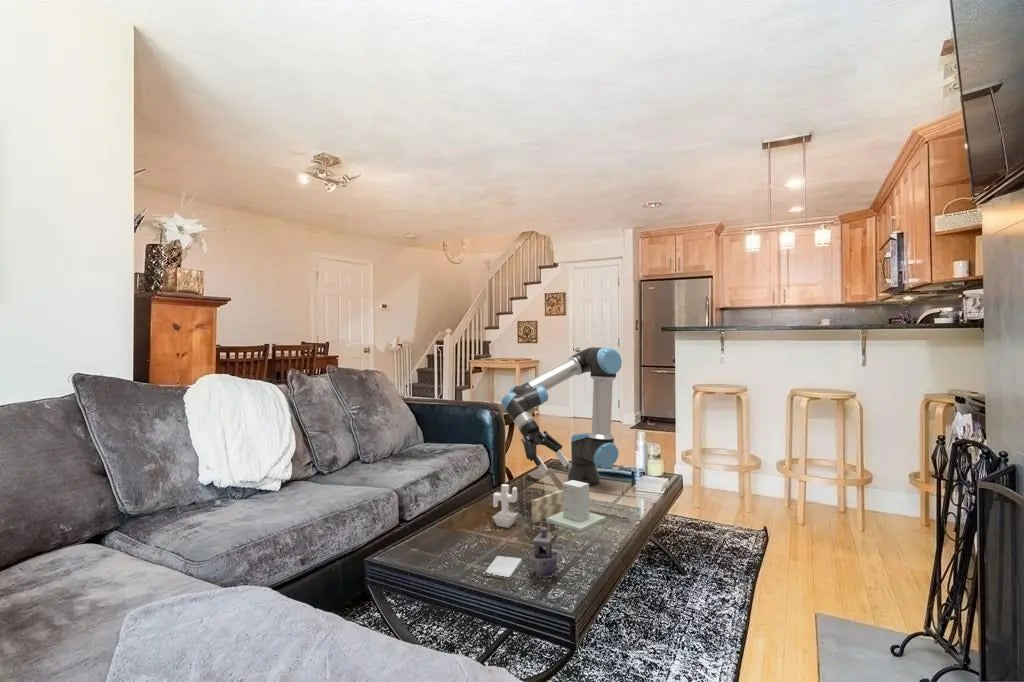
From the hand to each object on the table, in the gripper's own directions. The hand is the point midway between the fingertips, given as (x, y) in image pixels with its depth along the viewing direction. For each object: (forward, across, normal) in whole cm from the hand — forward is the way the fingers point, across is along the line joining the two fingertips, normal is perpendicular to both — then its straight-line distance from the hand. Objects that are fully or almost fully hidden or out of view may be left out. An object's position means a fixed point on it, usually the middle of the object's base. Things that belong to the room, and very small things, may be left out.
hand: (556, 468), depth 198 cm
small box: (+19, 0, -6) cm, 20 cm away
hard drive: (+25, +48, -2) cm, 54 cm away
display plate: (+20, 0, -6) cm, 21 cm away
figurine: (+7, +21, -19) cm, 29 cm away
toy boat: (+33, +42, +7) cm, 54 cm away
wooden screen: (+12, 0, -14) cm, 18 cm away
